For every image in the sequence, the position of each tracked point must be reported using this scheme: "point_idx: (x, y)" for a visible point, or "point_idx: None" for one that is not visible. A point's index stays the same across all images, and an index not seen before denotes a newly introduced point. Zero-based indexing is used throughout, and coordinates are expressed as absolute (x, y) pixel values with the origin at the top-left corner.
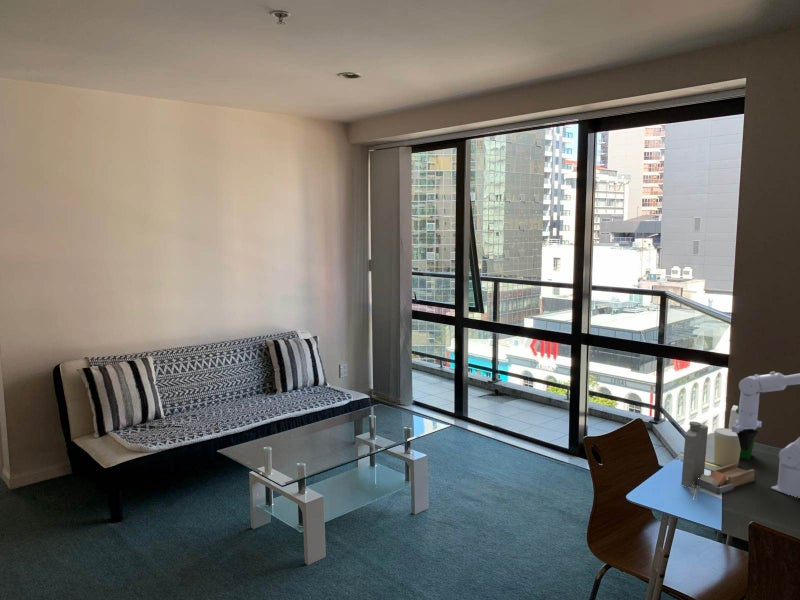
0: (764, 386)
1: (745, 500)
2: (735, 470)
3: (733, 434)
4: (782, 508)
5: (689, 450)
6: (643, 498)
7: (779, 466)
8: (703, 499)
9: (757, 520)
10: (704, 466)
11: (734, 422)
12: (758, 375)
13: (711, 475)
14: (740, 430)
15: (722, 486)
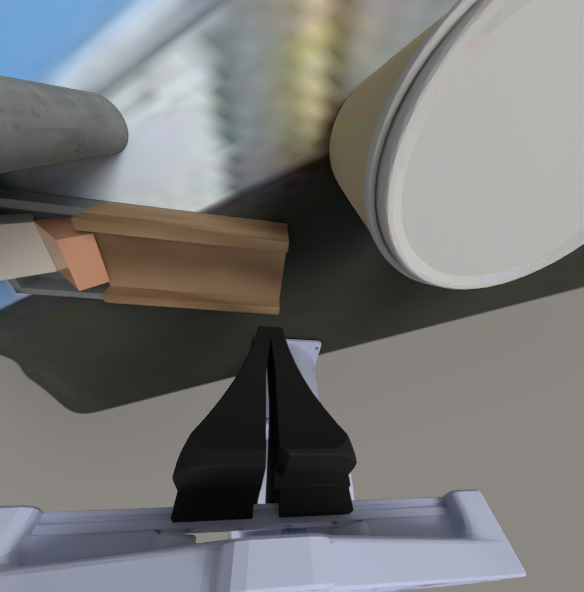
0: None
1: (103, 333)
2: (239, 259)
3: (470, 234)
4: (163, 380)
5: None
6: None
7: (267, 406)
8: None
9: (38, 380)
10: (82, 158)
11: (224, 550)
12: None
13: (46, 235)
14: (125, 523)
15: (48, 290)
